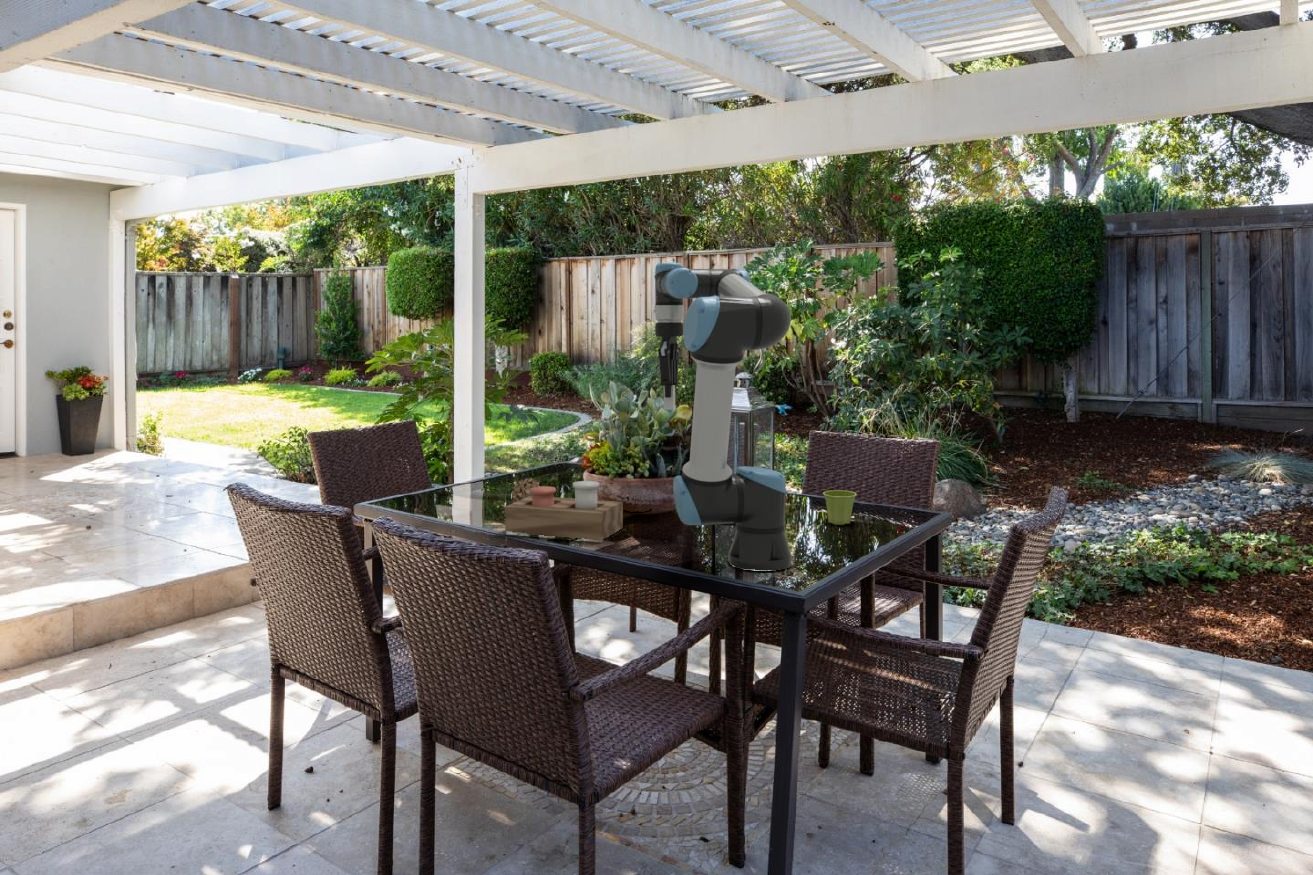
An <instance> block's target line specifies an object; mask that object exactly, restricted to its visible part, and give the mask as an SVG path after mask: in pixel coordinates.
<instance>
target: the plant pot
mask: <svg viewBox="0 0 1313 875" xmlns="http://www.w3.org/2000/svg"><path fill="white" fill-rule="evenodd" d="M822 493H823V494H822V495H823V496H824V500H825V505H826V512H827V520H828V521H827V522H828V523H829V524H833V525H836V526H837V525H838V526H839V525H840V526H844V525H846V524H847V525H849V524H851V520H852V511H853V507H854V503H855V502H854V501H855V499H856V497H857V492H854V491H851V490H850V491H849V490H843V489H842V490H840V489H839V490H836V489H834V490H826V491H824V492H822Z"/></svg>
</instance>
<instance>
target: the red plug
mask: <svg viewBox="0 0 1313 875" xmlns="http://www.w3.org/2000/svg"><path fill="white" fill-rule="evenodd" d="M539 486H540V487H533V488H530V493H531V494H532V505H537V506H552V505H554V497H555V494H556V492H557V489H556V488H557V487H555V486H550V485H549V486H548V485H547V486H546V485H544V486H543V485H542V486H541V485H539Z"/></svg>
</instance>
